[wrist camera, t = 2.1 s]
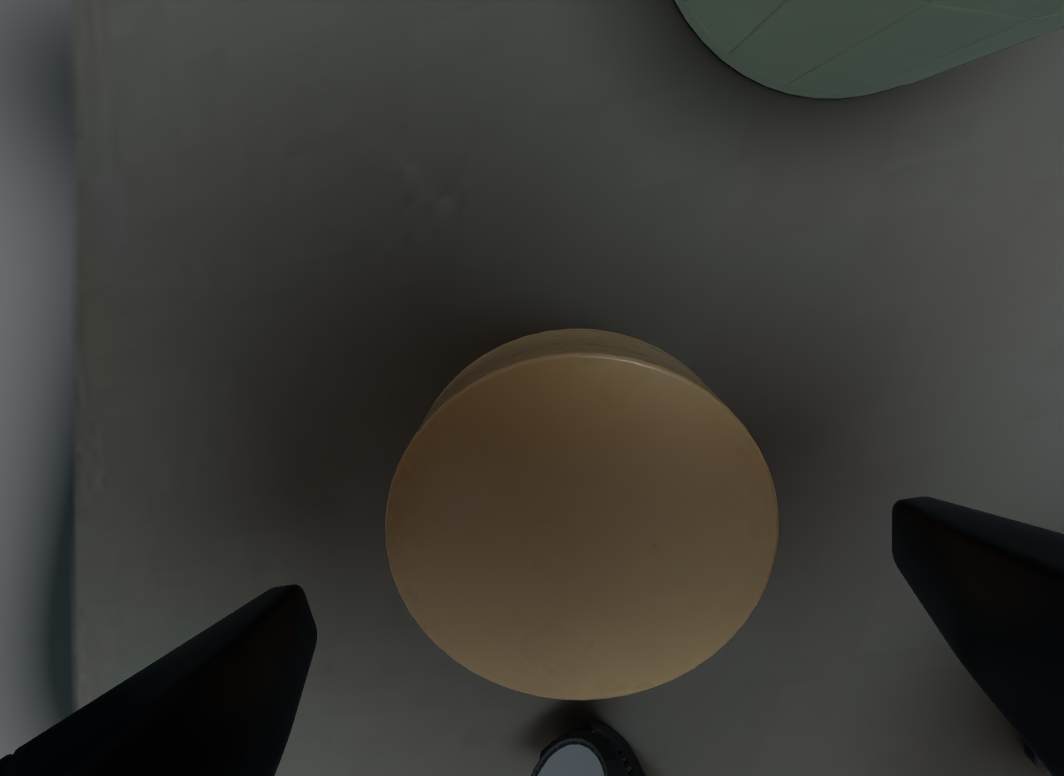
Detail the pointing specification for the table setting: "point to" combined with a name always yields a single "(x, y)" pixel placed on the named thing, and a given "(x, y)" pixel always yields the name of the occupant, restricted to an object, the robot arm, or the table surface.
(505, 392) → the stopper
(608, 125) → the table surface
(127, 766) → the robot arm
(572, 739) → the smartwatch
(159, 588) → the table surface
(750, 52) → the jar
